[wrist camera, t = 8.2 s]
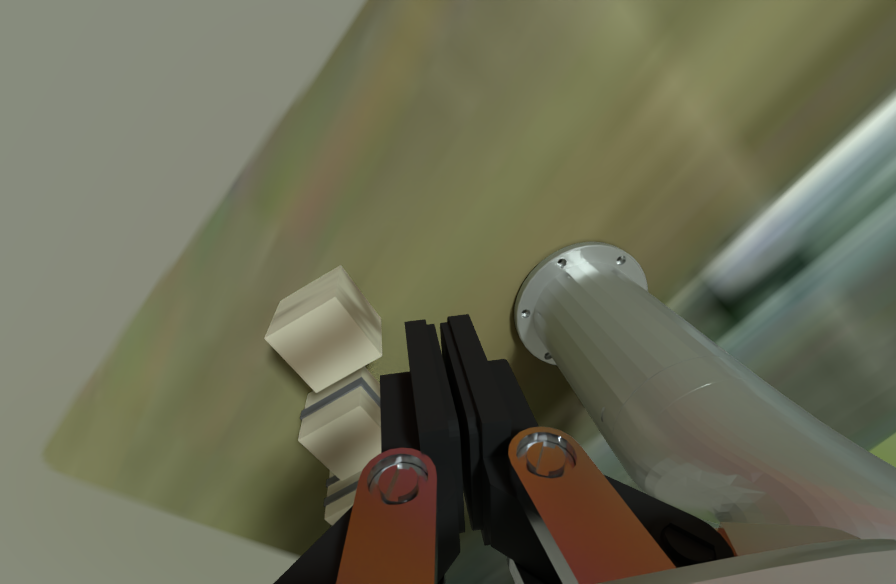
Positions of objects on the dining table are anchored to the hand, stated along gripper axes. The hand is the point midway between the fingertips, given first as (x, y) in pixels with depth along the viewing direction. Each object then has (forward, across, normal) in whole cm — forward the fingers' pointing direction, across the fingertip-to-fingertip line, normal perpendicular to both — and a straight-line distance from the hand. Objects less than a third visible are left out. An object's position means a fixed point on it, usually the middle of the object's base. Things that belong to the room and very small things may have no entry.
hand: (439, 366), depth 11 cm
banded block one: (+25, +6, +20) cm, 32 cm away
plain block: (+25, +7, +10) cm, 28 cm away
